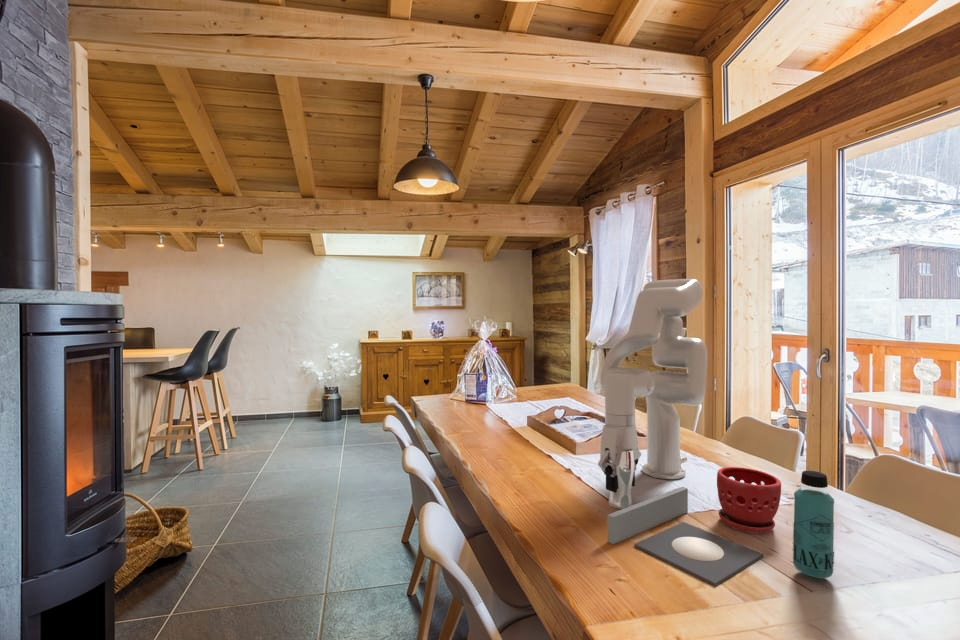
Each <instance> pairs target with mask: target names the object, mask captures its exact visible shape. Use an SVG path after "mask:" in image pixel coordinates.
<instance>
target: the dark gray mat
mask: <svg viewBox="0 0 960 640" xmlns="http://www.w3.org/2000/svg"><path fill="white" fill-rule="evenodd" d="M634 547H635V548H637V549H639V550H641V551H643V552H645V553H647V554H649V555H651V556H653V557H655V558H657V559H659V560H661V561H662V562H665V563H667V564H670V565H671V566H674V567H675V568H677V569H679V570H682V571H684V572H686V573H688V574H689V575H691V576H693V577H696V578H697V579H700V580H701V581H703V582H705V583H708V584H709V585H712V586H713V587H717V586H718V585H720V584H721V583H724V582H725V581H727V580H728V579H730V578H731V577H733V576H735V575H736V574H738V573H740V572H741V571H742V570H744V569H746V568H748V567H749V566H750V565H752V564H754V563H755V562H758V561H759V560H761V559H762V558H764V553H763V552H760V551H757V550H755V549H753V548H750V547H747V546H745V545H742V544H740V543H737V542H735V541H733V540H730V539H729V538H728V539H727V538H725V537H722V536H720V535H717V534H715V533H712V532H710V531H708V530H705V529H702V528H699V527H698V526H695V525H692V524H690V523H687V522H685V521H682V522H679V523H678V524H675V525H673V526H671V527H668V528H667V529H664V530H662V531H660V532H658V533H655V534H653V535H650V536H649V537H646V538H644V539H642V540H640V541H637V542H635V543H634Z"/></svg>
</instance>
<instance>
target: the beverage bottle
mask: <svg viewBox="0 0 960 640" xmlns="http://www.w3.org/2000/svg"><path fill="white" fill-rule="evenodd" d="M800 482H801V484H802V485H805V486H803V487H800V488H798V489H797V490H795V491H794V493H793V494H794V502H793V503H794V509H793V524H792V527H793V531H792V539H793V540H792V544H793V545H792V562H793V565H794V568H795V569H796V570H797V571H798V572H801V573H802V574H805V575H807V576H810V577H814V578H817V579H827V578H830V577H832V576H833V573H834V570H835V561H834V557H835V551H834V540H835V537H834V536H835V535H834V533H835V531H834V530H835V523H834V520H835V519H834V515H835V513H834V512H835V511H834V508H835V506H834V505H835V499H834V497H833V496H832V495H831V494H829V493H828V492H827V491H825V490H824V489H825V488H828V485H829V484H828V477H827V474H825V473H823V472H821V471H815V470H803V471H802V472H801V479H800Z"/></svg>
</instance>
